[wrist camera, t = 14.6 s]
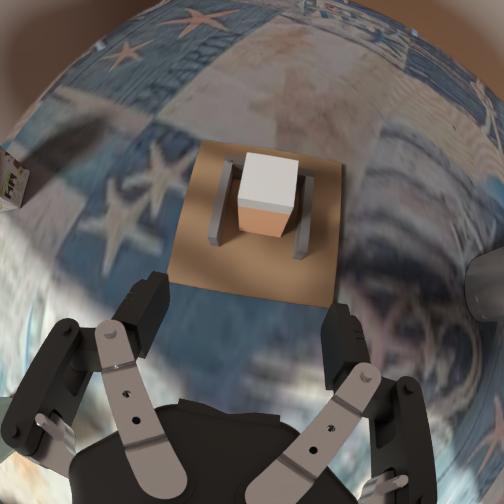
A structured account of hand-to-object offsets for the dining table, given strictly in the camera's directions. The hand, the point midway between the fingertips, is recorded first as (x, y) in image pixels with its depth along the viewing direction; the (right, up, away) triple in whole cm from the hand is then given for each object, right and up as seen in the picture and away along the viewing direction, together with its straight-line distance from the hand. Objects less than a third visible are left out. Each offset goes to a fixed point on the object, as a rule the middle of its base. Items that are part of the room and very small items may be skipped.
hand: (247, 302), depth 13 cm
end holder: (+1, +6, +15) cm, 16 cm away
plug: (+1, +6, +14) cm, 15 cm away
